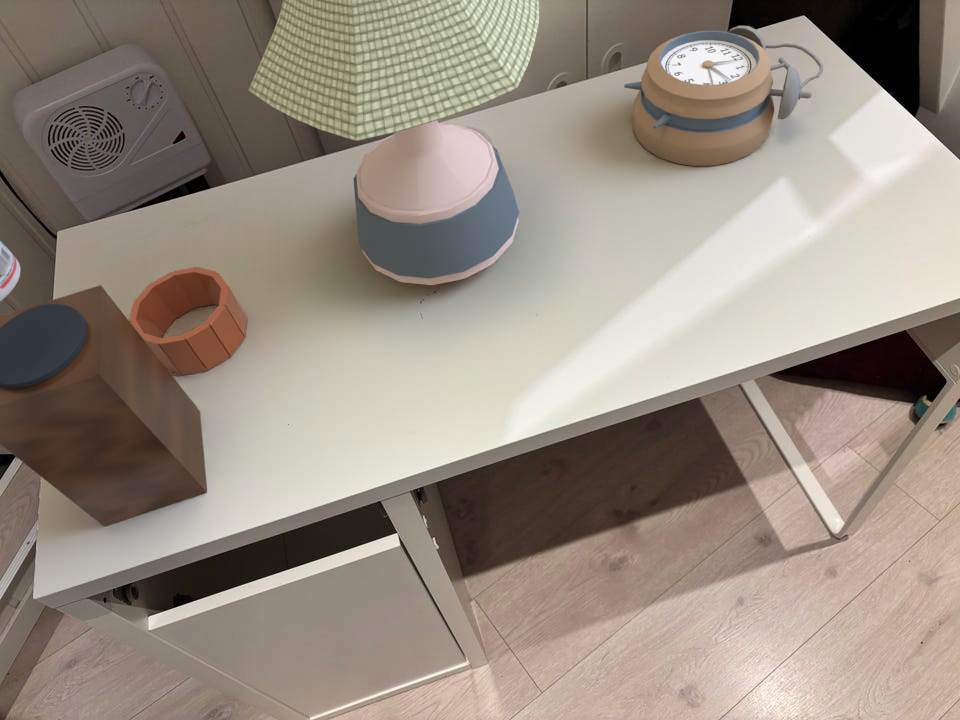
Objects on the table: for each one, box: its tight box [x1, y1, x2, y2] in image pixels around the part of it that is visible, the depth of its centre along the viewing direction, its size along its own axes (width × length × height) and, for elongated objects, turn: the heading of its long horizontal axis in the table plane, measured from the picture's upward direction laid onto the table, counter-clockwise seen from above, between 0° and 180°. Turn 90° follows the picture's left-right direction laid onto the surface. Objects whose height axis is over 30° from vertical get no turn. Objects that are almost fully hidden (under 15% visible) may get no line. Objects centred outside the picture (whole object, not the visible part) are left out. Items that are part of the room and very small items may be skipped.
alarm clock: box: [623, 25, 824, 167], centre depth 91 cm, size 17×9×23 cm
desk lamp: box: [248, 0, 540, 286], centre depth 72 cm, size 26×28×42 cm
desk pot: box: [128, 266, 248, 376], centre depth 81 cm, size 11×11×6 cm
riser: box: [0, 284, 208, 527], centre depth 66 cm, size 10×10×19 cm
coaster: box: [0, 304, 87, 389], centre depth 58 cm, size 8×8×1 cm
